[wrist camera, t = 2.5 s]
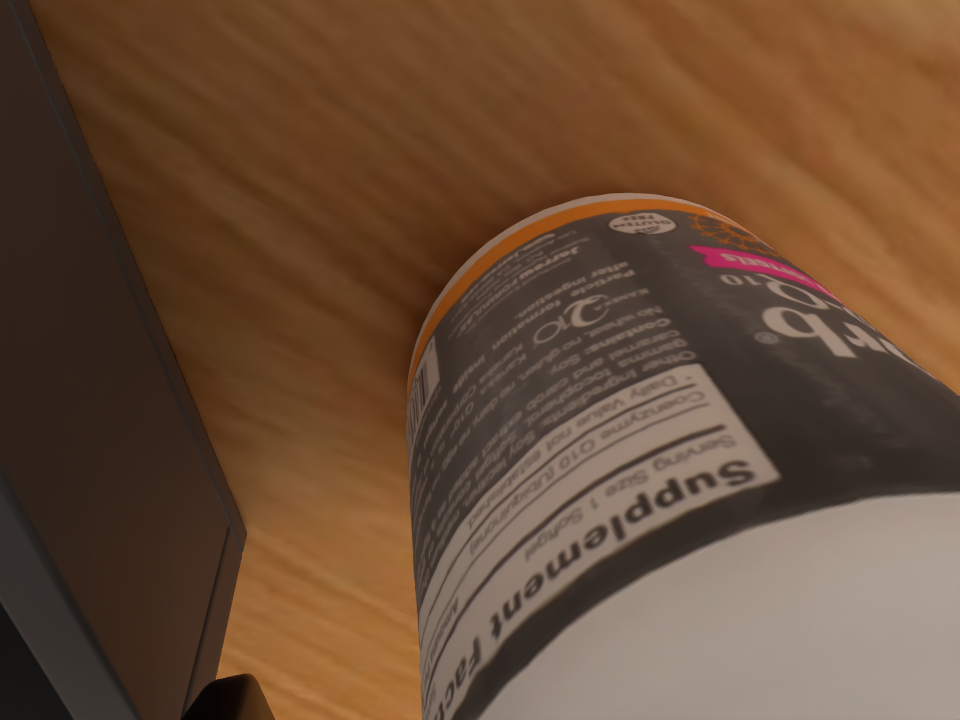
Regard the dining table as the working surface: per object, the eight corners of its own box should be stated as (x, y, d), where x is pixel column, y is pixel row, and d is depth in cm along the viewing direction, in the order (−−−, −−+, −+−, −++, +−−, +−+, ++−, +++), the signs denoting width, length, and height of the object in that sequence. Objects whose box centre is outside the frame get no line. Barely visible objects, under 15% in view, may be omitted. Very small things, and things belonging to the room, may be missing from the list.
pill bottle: (863, 342, 12) (2094, 1366, 4) (597, 585, 14) (980, 1705, 5) (596, 84, 10) (2039, 1054, 1) (316, 407, 12) (148, 1814, 3)
